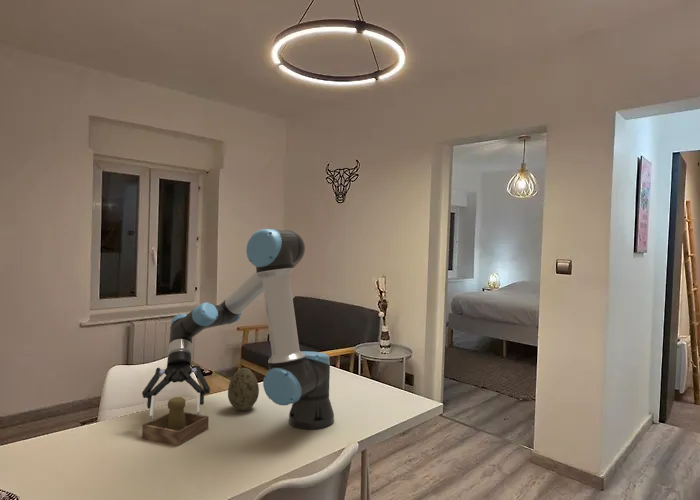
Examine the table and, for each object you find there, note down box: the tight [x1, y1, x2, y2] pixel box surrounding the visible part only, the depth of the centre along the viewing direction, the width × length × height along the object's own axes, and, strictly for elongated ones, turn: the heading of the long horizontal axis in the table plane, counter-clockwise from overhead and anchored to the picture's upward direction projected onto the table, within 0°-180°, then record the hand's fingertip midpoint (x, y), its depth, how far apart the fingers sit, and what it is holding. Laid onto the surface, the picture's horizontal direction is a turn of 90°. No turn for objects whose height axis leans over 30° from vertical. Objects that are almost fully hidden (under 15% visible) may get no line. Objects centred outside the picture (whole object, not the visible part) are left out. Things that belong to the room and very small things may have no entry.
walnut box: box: [141, 411, 209, 447], centre depth 142 cm, size 14×14×4 cm
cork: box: [167, 396, 187, 431], centre depth 142 cm, size 6×6×11 cm
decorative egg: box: [227, 367, 260, 411], centre depth 164 cm, size 11×11×15 cm
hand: (175, 415), depth 141 cm, fingers open, 13 cm apart
